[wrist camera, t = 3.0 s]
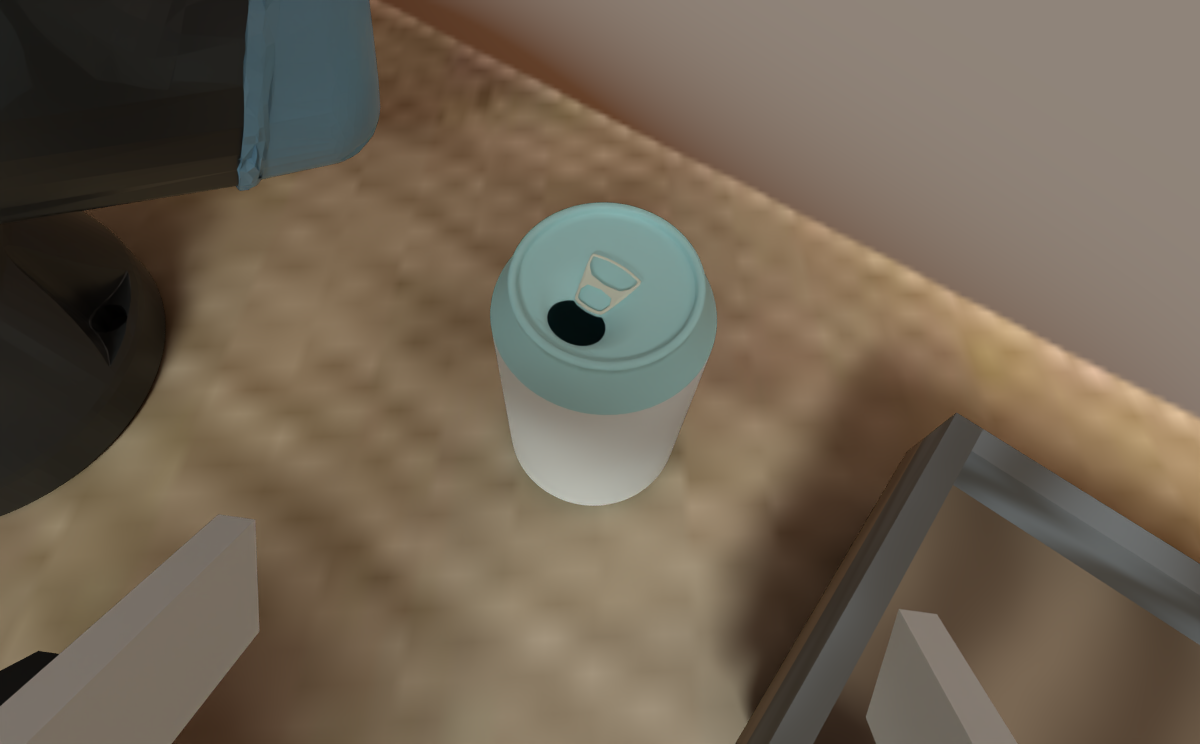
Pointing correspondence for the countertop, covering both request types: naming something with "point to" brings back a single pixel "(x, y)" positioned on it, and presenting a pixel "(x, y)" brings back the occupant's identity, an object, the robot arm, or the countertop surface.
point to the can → (600, 348)
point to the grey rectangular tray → (1002, 606)
